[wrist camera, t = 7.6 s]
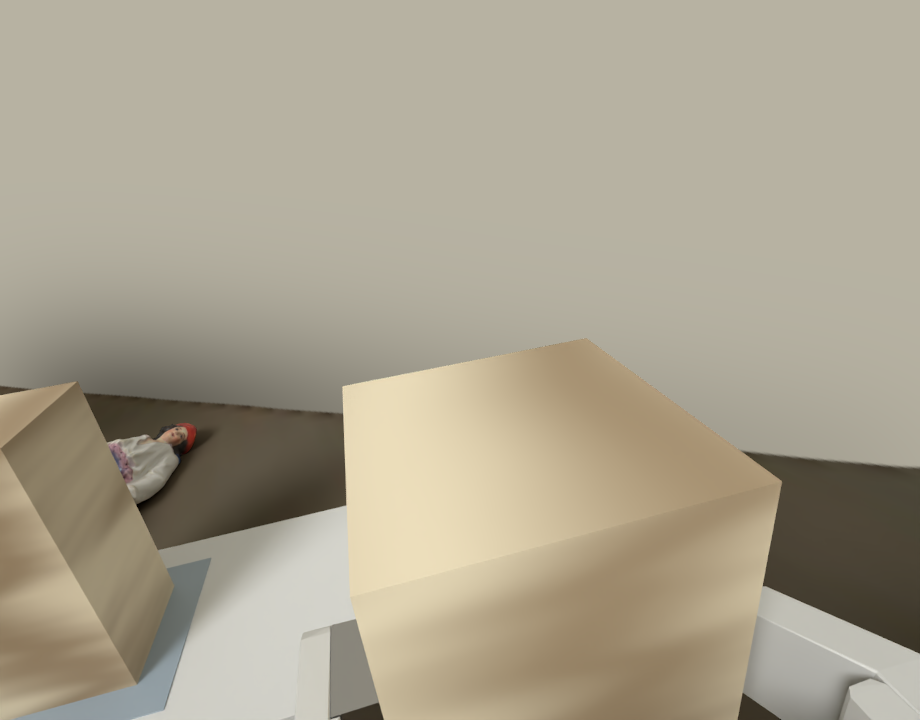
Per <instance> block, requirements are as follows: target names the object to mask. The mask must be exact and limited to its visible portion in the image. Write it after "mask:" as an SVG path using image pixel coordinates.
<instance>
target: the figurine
mask: <svg viewBox="0 0 920 720" xmlns="http://www.w3.org/2000/svg"><path fill="white" fill-rule="evenodd" d="M196 433H197V429H196V427H195V426H193V425H191V424H187V423H181V424H178V425H173V424H172V425H171V426H165V427H162V428H161V430H160V433H159V434H158V435H157V437H156V438H154V439H151V437H150V436H148V435H146V434H145V435H142V436H139V437H133V438H130V439H124V440H121V439H117V440H115V441H112V442H108V443H107V444H108V447H109V449H110V451H111V453H112V455H113V457H114V459H115V461H116V463H117V466H118V468H119V470H120V472H121V474H122V476H123V478H124V480H125V482H126V485H127V487H128V489H129V491H130V493H131V495H132V497H133V499H134V501H135V504H138V503H140V502H142V501H144V500H147V499H149V498H150V497H152V496H153V495H154V494H156V493H157V492H158V491H159V490H160V489H161V488H163V486H164V485H165V483H166V481H167V480H168V479H169V477H170V476H171V474H172V473H173V471H174V470H175V469H176V467H177V465H178V464H180V462H181V458H180V456H181V455H183V454H186V453H187V452H188V451H189V450H190V449H191V448H192V446H193V443H194V440H195V437H196Z"/></svg>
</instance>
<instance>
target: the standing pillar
mask: <svg viewBox="0 0 920 720" xmlns="http://www.w3.org/2000/svg"><path fill="white" fill-rule="evenodd" d="M173 588H174V584H173V582H172V579H171V577H170V575H169V573H168V571H167V569H166V567H165V565H164V563H163V560H162V558H161V556H160V554H159V552H158V550H157V548H156V546H155V544H154V541H153V539H152V537H151V535H150V533H149V531H148V529H147V527H146V525H145V523H144V520H143V518H142V516H141V514H140V512H139V510H138V508H137V506H136V504H135V501H134V499H133V497H132V495H131V493H130V491H129V489H128V487H127V485H126V482H125V480H124V478H123V476H122V474H121V472H120V470H119V468H118V466H117V463H116V461H115V459H114V457H113V455H112V453H111V451H110V449H109V447H108V444H107V442H106V440H105V438H104V436H103V434H102V432H101V430H100V428H99V426H98V423H97V421H96V419H95V417H94V415H93V413H92V411H91V409H90V407H89V404H88V402H87V400H86V398H85V396H84V394H83V392H82V390H81V388H80V386H79V383H78V382H71V383H66V384H61V385H55V386H49V387H44V388H38V389H33V390H27V391H22V392H17V393H11V394H6V395H0V720H11V719H15V718H18V717H22V716H26V715H29V714H33V713H36V712H40V711H44V710H47V709H51V708H55V707H58V706H62V705H65V704H69V703H73V702H76V701H80V700H83V699H87V698H91V697H94V696H98V695H102V694H105V693H109V692H112V691H116V690H120V689H123V688H127V687H131V686H134V685H137V684H138V681H139V678H140V676H141V673H142V670H143V668H144V665H145V663H146V660H147V657H148V655H149V652H150V649H151V647H152V644H153V641H154V639H155V636H156V633H157V631H158V628H159V626H160V623H161V620H162V618H163V615H164V612H165V610H166V607H167V604H168V602H169V599H170V596H171V594H172V591H173Z"/></svg>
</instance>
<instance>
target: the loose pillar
mask: <svg viewBox="0 0 920 720" xmlns="http://www.w3.org/2000/svg"><path fill="white" fill-rule="evenodd" d="M343 415H344V443H345V471H346V500H347V528H348V556H349V585H350V599H351V603H352V606H353V610H354V614H355V617H356V621H357V624H358V628H359V632H360V635H361V639H362V642H363V646H364V650H365V653H366V657H367V660H368V664H369V668H370V671H371V675H372V679H373V682H374V686H375V689H376V693H377V697H378V700H379V704H380V707H381V711H382V715H383V718H384V720H738V715H739V709H740V704H741V698H742V693H743V688H744V682H745V677H746V672H747V666H748V661H749V656H750V650H751V645H752V639H753V634H754V629H755V623H756V618H757V613H758V607H759V602H760V597H761V591H762V586H763V581H764V575H765V570H766V564H767V559H768V554H769V548H770V543H771V538H772V532H773V527H774V522H775V516H776V511H777V505H778V500H779V495H780V489H781V484H782V481H781V480H779V479H778V478H777V477H775V476H774V475H772V474H771V473H770V472H768V471H767V470H766V469H764V468H763V467H762V466H760V465H759V464H757V463H756V462H755V461H753V460H752V459H751V458H749V457H748V456H746V455H745V454H744V453H742V452H741V451H740V450H738V449H737V448H736V447H734V446H733V445H731V444H730V443H729V442H727V441H726V440H725V439H723V438H722V437H720V436H719V435H718V434H716V433H715V432H714V431H712V430H711V429H709V428H708V427H707V426H706V425H704V424H703V423H701V422H700V421H699V420H697V419H696V418H694V417H693V416H692V415H690V414H689V413H688V412H686V411H685V410H684V409H682V408H681V407H680V406H678V405H677V404H675V403H674V402H673V401H671V400H670V399H669V398H667V397H666V396H665V395H663V394H662V393H660V392H659V391H658V390H656V389H655V388H653V387H652V386H651V385H649V384H648V383H647V382H645V381H644V380H643V379H641V378H640V377H639V376H637V375H636V374H634V373H633V372H632V371H630V370H629V369H628V368H626V367H625V366H623V365H622V364H621V363H619V362H618V361H616V360H615V359H614V358H613V357H611V356H610V355H609V354H607V353H606V352H604V351H603V350H602V349H600V348H599V347H598V346H596V345H595V344H593V343H592V342H591V341H589V340H588V339H587V338H585V339H580V340H575V341H570V342H565V343H560V344H555V345H549V346H545V347H539V348H535V349H529V350H524V351H520V352H514V353H509V354H504V355H499V356H494V357H489V358H484V359H479V360H474V361H468V362H464V363H458V364H454V365H448V366H443V367H438V368H433V369H428V370H423V371H418V372H413V373H408V374H403V375H397V376H392V377H388V378H382V379H377V380H372V381H367V382H362V383H357V384H352V385H347V386H343Z"/></svg>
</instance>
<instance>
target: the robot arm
mask: <svg viewBox="0 0 920 720" xmlns="http://www.w3.org/2000/svg"><path fill="white" fill-rule="evenodd" d="M743 693H744V694H745V695H747V696H748V697H750V698H751V699H753V700H754V701H756V702H757V703H758V704H760V705H761V706H763V707H764V708H766V709H767V710H769V711H770V712H771V713H773V714H774V715H776V716H777V717H779V718H780V719H782V720H920V654H919V653H917V652H915V651H912V650H910V649H908V648H905V647H903V646H901V645H899V644H896V643H894V642H892V641H889V640H887V639H885V638H883V637H880V636H878V635H876V634H873V633H871V632H869V631H867V630H864V629H862V628H860V627H857V626H855V625H853V624H851V623H848V622H846V621H844V620H841V619H839V618H837V617H835V616H832V615H830V614H828V613H825V612H823V611H821V610H819V609H816V608H814V607H812V606H809V605H807V604H805V603H803V602H800V601H798V600H796V599H793V598H791V597H789V596H787V595H784V594H782V593H780V592H777V591H775V590H773V589H771V588H768V587H766V586H763V587H762V591H761V597H760V602H759V607H758V613H757V618H756V623H755V629H754V634H753V639H752V645H751V650H750V656H749V661H748V666H747V672H746V677H745V682H744V688H743ZM294 720H384V718H383V715H382V711H381V707H380V704H379V700H378V697H377V693H376V689H375V686H374V682H373V679H372V675H371V671H370V668H369V664H368V660H367V657H366V653H365V650H364V646H363V642H362V639H361V635H360V632H359V628H358V624H357V621H356V619H354V620H350V621H346V622H342V623H338V624H334V625H331V626H327V627H323V628H319V629H315V630H311V631H308V632H304V633H303V634H302V637H301V640H300V647H299V661H298V675H297V689H296V704H295V718H294Z"/></svg>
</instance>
